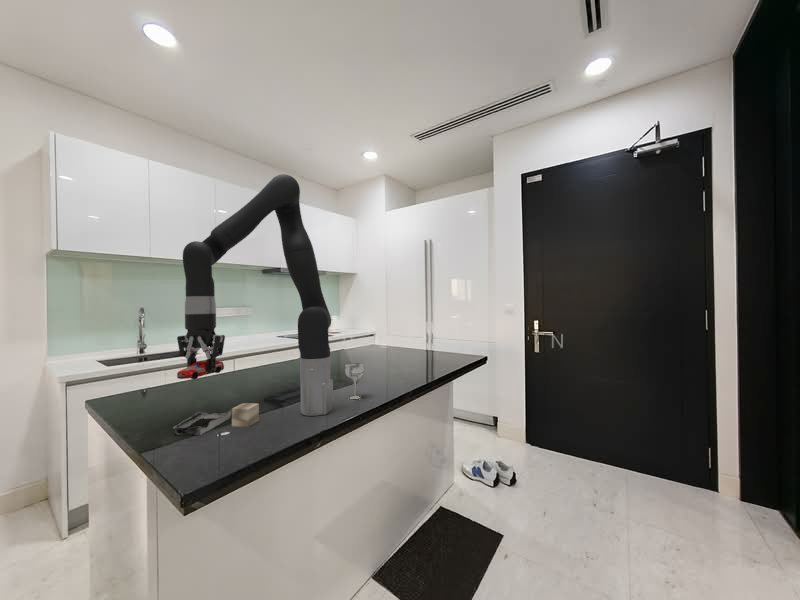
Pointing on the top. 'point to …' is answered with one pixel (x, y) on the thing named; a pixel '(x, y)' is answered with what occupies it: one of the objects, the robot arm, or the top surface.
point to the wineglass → (354, 374)
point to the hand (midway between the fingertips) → (201, 371)
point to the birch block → (245, 414)
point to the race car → (199, 370)
